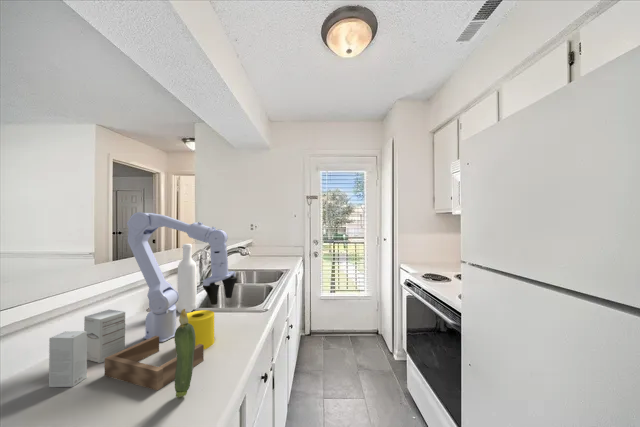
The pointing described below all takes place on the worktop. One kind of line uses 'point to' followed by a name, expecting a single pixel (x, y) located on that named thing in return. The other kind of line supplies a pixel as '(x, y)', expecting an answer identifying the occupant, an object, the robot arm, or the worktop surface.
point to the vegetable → (184, 354)
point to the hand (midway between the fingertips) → (221, 300)
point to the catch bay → (145, 365)
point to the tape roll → (202, 327)
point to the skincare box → (67, 358)
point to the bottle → (187, 281)
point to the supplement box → (104, 334)
